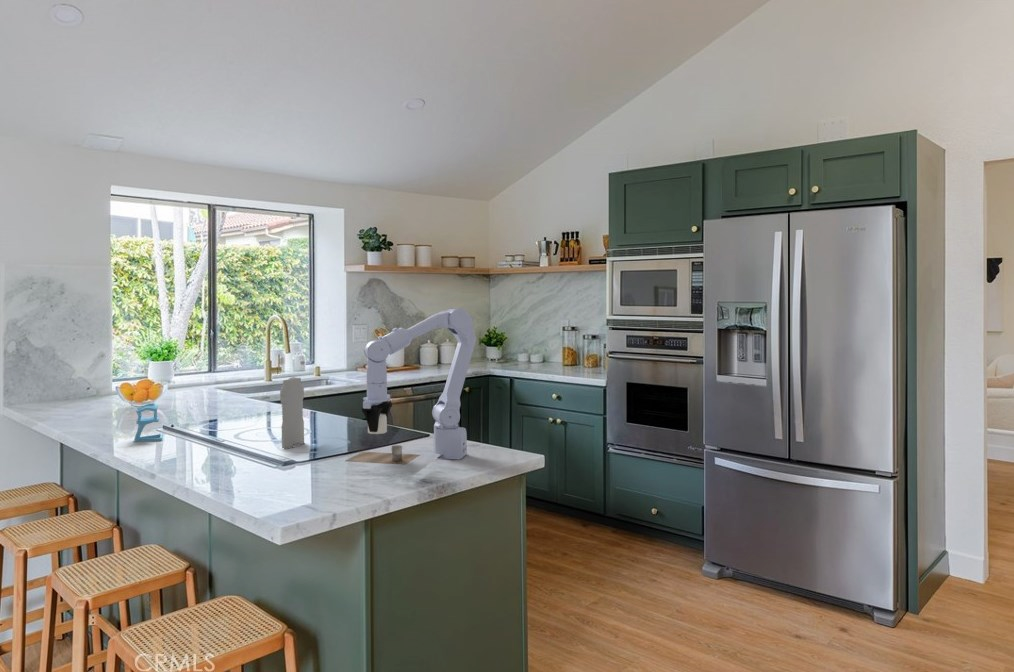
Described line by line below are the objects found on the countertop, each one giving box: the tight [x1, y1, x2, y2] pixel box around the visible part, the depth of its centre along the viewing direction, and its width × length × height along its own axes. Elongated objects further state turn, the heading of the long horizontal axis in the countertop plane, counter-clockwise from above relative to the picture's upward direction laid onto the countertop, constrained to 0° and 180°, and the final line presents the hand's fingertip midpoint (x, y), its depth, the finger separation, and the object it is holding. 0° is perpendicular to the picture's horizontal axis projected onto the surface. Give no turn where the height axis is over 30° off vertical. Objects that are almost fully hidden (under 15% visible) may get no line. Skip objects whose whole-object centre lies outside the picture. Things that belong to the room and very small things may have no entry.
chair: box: [133, 403, 163, 443], centre depth 234 cm, size 8×8×12 cm
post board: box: [345, 444, 420, 466], centre depth 202 cm, size 18×12×6 cm, turn 77°
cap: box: [367, 414, 388, 435], centre depth 203 cm, size 5×5×5 cm
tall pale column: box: [279, 376, 305, 449], centre depth 224 cm, size 11×4×22 cm, turn 156°
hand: (377, 429), depth 203 cm, fingers closed on cap, 5 cm apart
